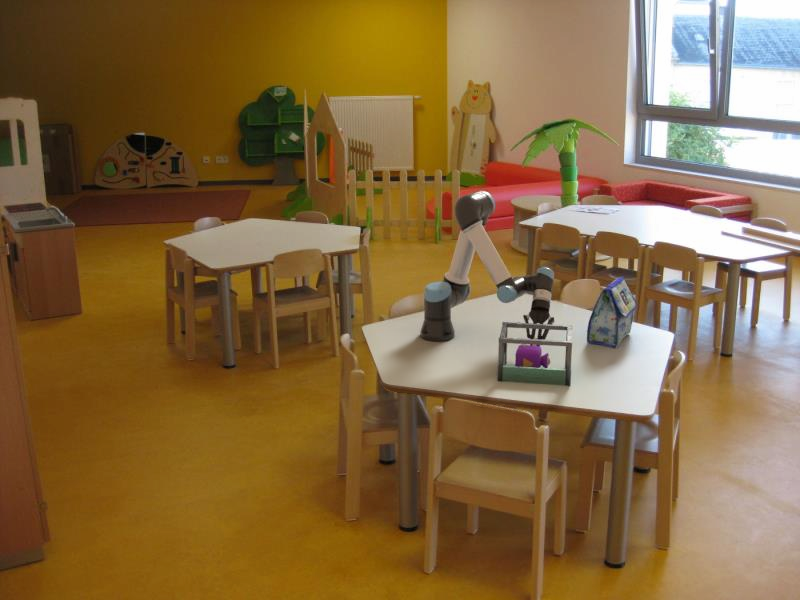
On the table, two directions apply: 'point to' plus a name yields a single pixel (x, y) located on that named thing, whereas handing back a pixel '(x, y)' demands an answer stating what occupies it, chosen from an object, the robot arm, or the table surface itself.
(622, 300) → the lunch bag
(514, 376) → the frame
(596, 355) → the table surface
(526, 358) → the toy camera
